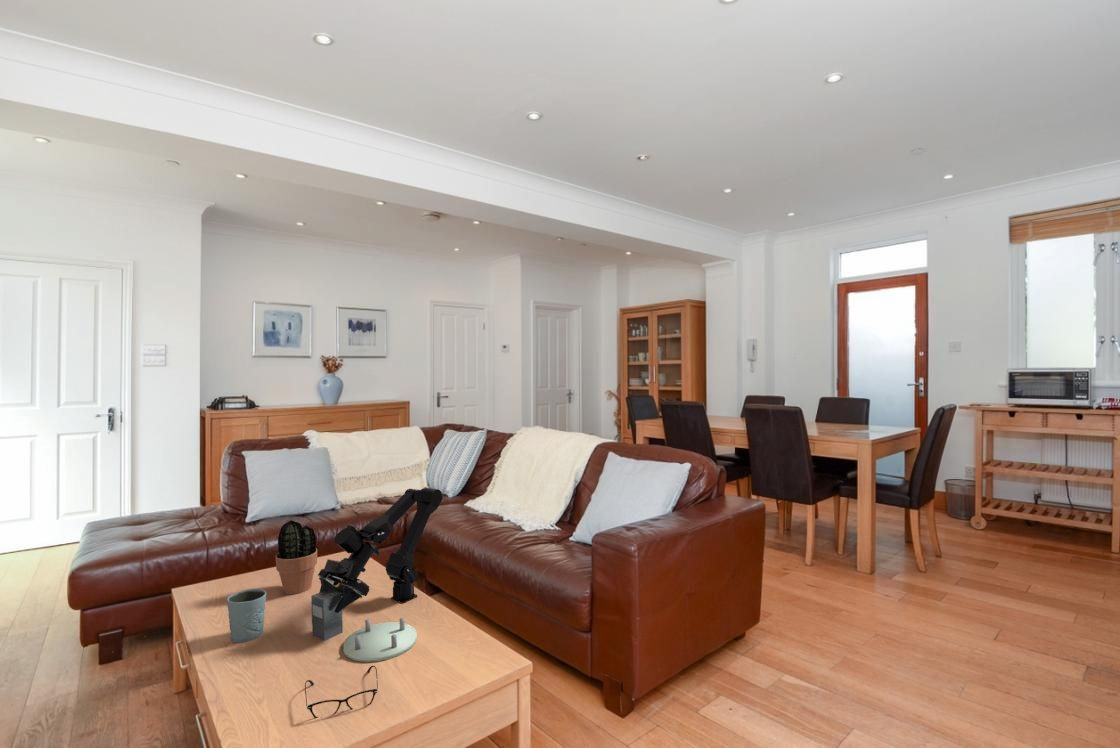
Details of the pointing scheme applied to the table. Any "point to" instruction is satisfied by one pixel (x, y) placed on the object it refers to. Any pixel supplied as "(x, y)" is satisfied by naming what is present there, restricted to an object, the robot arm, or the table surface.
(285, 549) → the potted plant
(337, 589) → the gadget
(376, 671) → the eyeglasses
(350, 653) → the pin plate
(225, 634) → the table surface
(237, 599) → the embossed blue-grey cup
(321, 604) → the block
